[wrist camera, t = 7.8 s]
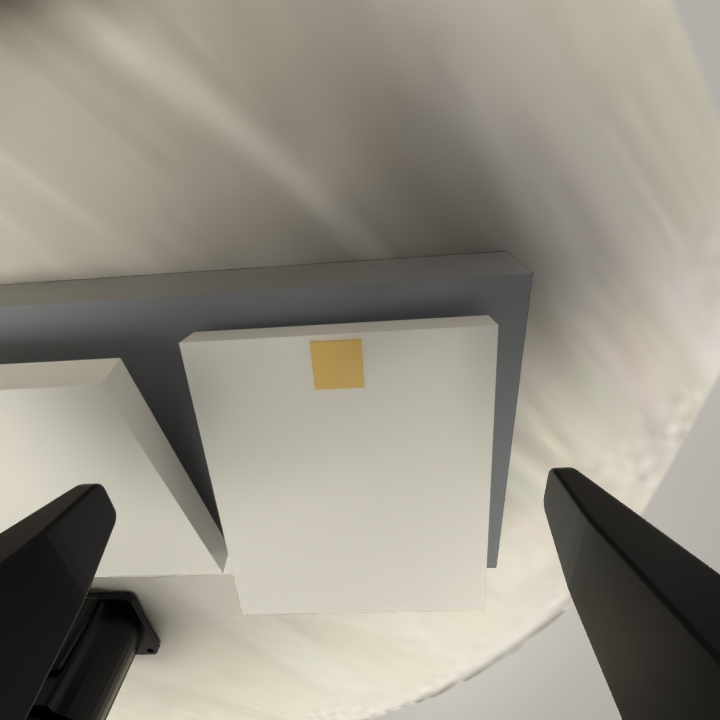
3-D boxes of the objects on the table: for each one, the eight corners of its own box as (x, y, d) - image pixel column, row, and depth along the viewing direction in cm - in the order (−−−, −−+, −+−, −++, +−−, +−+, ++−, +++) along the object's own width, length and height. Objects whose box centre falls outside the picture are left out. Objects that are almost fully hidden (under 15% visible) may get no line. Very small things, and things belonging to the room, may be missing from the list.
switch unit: (482, 518, 23) (501, 586, 20) (65, 531, 25) (14, 596, 21) (506, 251, 16) (543, 282, 13) (-77, 290, 18) (-188, 327, 14)
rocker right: (477, 585, 18) (485, 613, 17) (250, 589, 19) (241, 617, 17) (488, 314, 14) (499, 326, 13) (194, 332, 14) (176, 344, 13)
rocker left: (229, 548, 20) (222, 576, 19) (34, 553, 21) (16, 581, 20) (120, 358, 13) (98, 388, 12) (-183, 374, 13) (-229, 404, 12)
